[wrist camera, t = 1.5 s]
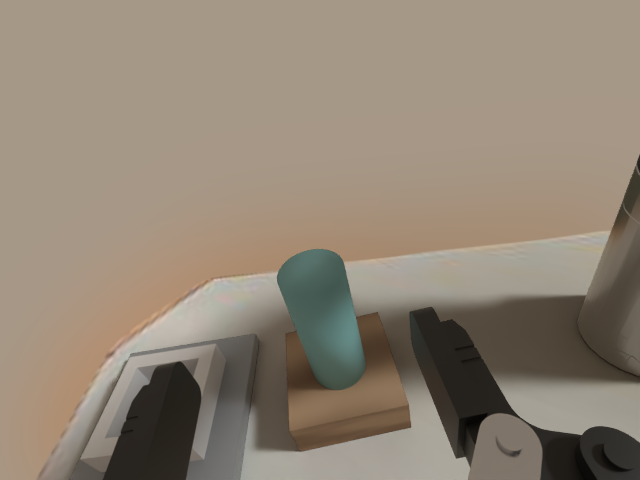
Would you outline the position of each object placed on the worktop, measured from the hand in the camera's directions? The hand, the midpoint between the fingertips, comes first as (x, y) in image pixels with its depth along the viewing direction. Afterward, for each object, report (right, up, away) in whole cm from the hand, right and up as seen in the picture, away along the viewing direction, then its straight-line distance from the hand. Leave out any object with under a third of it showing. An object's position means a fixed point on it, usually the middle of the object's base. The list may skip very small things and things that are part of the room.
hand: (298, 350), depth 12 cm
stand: (+3, -11, +22) cm, 25 cm away
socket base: (-14, -15, +23) cm, 31 cm away
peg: (+2, -8, +20) cm, 21 cm away
